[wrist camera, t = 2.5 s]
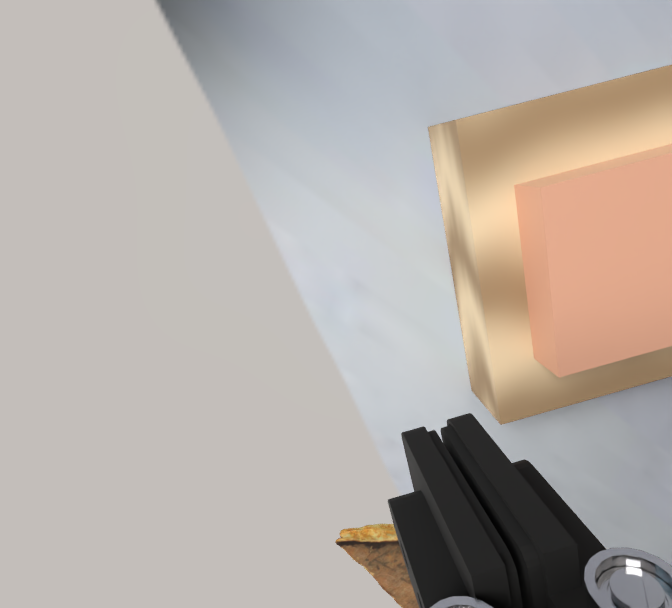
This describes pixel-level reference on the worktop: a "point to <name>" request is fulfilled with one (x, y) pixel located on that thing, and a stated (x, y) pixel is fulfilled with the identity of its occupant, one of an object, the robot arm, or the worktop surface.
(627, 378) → the oak board
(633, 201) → the terracotta coaster
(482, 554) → the robot arm
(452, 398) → the worktop surface
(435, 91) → the worktop surface
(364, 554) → the shard
